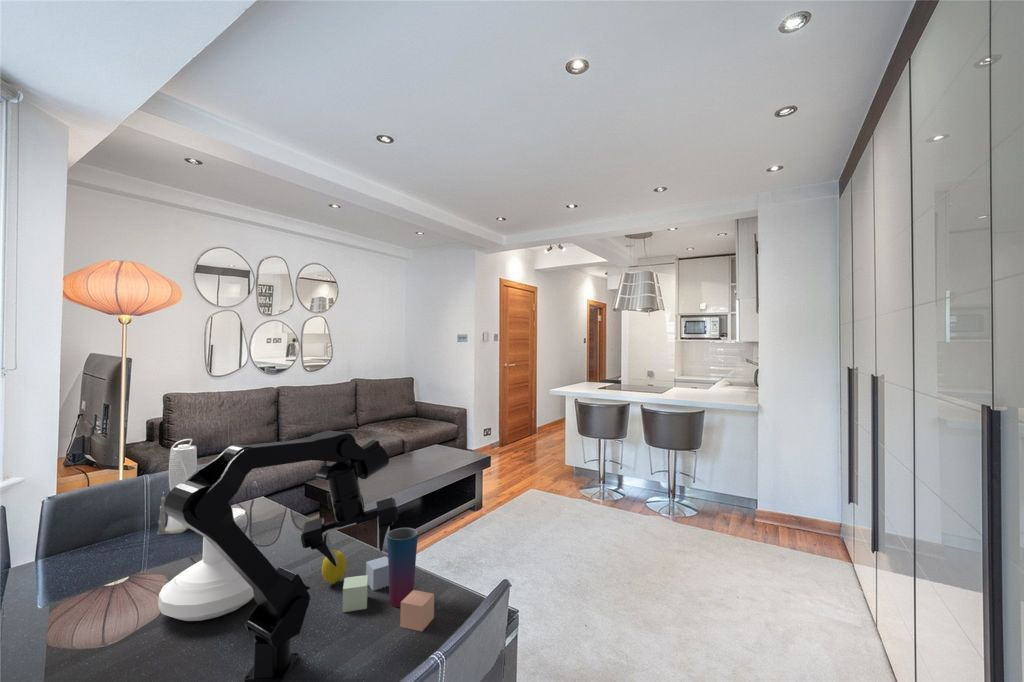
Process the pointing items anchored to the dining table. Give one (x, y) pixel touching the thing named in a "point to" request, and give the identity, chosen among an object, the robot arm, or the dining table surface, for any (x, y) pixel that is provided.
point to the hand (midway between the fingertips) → (358, 557)
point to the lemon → (334, 568)
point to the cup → (401, 563)
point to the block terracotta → (417, 610)
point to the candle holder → (206, 587)
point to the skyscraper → (178, 482)
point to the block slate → (377, 573)
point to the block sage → (355, 593)
